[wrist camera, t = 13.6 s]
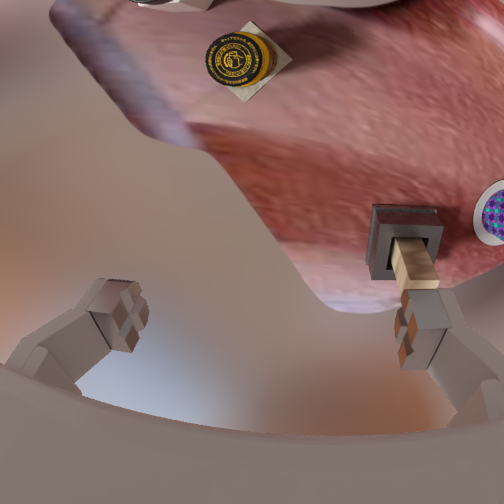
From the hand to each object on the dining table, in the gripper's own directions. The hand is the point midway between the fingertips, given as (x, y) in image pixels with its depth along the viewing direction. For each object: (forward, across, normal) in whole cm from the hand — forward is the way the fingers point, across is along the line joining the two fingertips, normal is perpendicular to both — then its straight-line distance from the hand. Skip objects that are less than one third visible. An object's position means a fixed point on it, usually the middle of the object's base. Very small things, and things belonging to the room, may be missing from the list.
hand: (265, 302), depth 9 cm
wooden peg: (+33, -15, +19) cm, 41 cm away
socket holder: (+34, -15, +19) cm, 42 cm away
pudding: (+35, -33, +14) cm, 50 cm away
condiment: (+34, +6, -6) cm, 36 cm away
